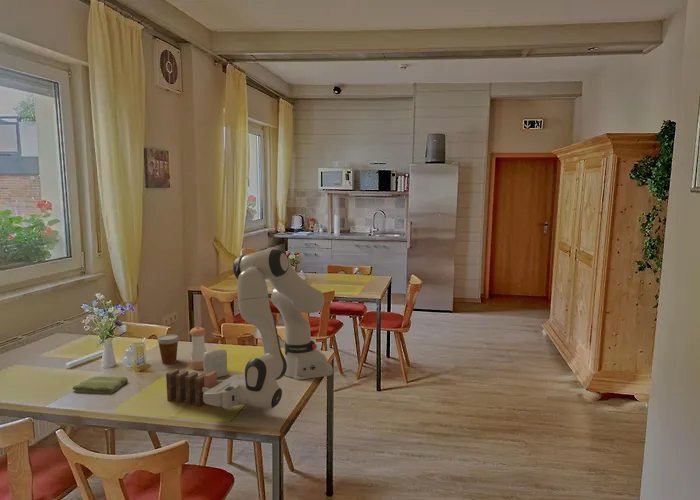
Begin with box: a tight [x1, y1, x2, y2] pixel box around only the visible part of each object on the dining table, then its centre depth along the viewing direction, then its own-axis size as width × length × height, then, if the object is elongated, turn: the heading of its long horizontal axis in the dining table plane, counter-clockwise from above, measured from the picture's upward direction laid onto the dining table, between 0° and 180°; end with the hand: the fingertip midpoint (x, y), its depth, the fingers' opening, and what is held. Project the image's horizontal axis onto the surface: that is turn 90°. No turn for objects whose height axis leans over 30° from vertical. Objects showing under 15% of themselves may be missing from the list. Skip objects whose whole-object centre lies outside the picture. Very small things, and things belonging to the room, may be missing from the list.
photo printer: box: [203, 348, 228, 378], centre depth 215 cm, size 10×4×12 cm, turn 123°
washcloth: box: [72, 376, 129, 394], centre depth 204 cm, size 13×18×3 cm
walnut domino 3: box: [185, 371, 199, 406], centre depth 189 cm, size 2×5×11 cm, turn 159°
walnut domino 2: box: [175, 370, 190, 404], centre depth 191 cm, size 2×5×11 cm, turn 158°
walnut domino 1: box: [165, 368, 180, 402], centre depth 193 cm, size 2×5×11 cm, turn 158°
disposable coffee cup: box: [157, 333, 180, 365], centre depth 233 cm, size 10×10×12 cm
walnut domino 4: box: [195, 373, 206, 408], centre depth 188 cm, size 2×5×11 cm, turn 158°
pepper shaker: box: [189, 325, 207, 371], centre depth 226 cm, size 7×7×19 cm
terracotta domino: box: [204, 371, 218, 389], centre depth 186 cm, size 2×5×11 cm, turn 158°
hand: (208, 385), depth 186 cm, fingers closed on terracotta domino, 5 cm apart
